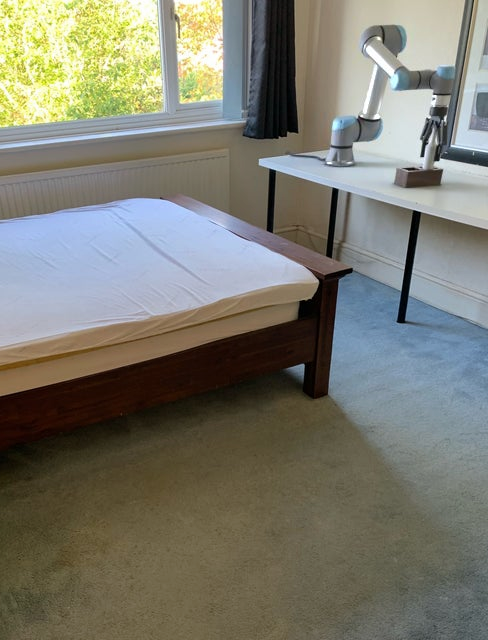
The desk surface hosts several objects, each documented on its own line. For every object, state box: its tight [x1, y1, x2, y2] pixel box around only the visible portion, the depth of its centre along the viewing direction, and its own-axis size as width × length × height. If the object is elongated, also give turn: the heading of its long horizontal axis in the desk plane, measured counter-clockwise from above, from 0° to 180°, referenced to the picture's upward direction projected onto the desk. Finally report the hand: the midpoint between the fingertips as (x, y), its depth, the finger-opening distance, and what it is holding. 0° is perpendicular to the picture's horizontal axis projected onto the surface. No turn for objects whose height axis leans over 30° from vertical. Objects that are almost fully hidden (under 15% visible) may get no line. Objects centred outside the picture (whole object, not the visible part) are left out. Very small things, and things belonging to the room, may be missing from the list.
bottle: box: [422, 128, 438, 170], centre depth 271 cm, size 5×5×25 cm
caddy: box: [394, 165, 444, 189], centre depth 275 cm, size 10×18×7 cm, turn 104°
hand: (429, 159), depth 272 cm, fingers open, 10 cm apart
